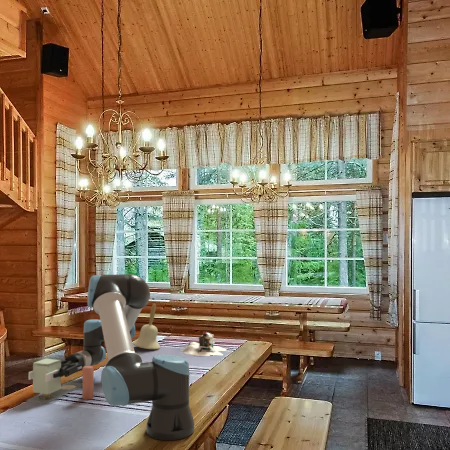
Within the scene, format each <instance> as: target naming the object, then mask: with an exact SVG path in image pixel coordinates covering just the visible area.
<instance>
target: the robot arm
mask: <svg viewBox="0 0 450 450" xmlns="http://www.w3.org/2000/svg"><path fill="white" fill-rule="evenodd" d="M87 288H88V290H87V307H89V308H93V310H94V312H95V313H96V314H98V315H99V319H95V318H94V319H92V318H91V319H88V320H85V321H84V323H83V347H82V348H83V350H80V351H77V352H75V353H72V354H68V355H67V356H66V358H65V360H61V368H60V371H59V370H55V371H53V372H50V373H47V374H45V382H48V381H50V380H53V379H55V378H58V377H61V378H62V377H65V378H68V377H70V376H72V375H73V374H76V373H78V372H80V371H81V372H83V367H85V366H93V367H94V366H95V365H98V364H100V363H102V362H103V361H104V360H105V359H106V357H107V359H108V360H107V361H106V363H105V366H104V367H103V368H102V370H101V375H100V376H101V377H100V380H101V386H102V387H101V389H102V393H103V396H104V399H105V401H106V403H107V404H108V405H110V406H112V407H120V406H121V407H125V406H127V405H133V404H140V403H147V402H152V404H151V405H152V406H151V409H150V412H149V416H148V419H147V421H146V435H147V436H149V437H150V438H152V439H155V440H160V441H178V440H182V439H185V438H188V437H189V436H191V435H192V434H193V433H194V432H195V420H194V417H193V414H192V410H191V408H190V375H191V373H190V364H189V363H190V362H189V361H188V360H187V359H186V358H184V357H182V356H179V355H173V354H157V355H154V356H152V358H151V361H147V362H145V361H144V362H143V359H142V357H141V355H140V354H139V353H138V352H137V353H136V352H135V348H134V345H133V340H132V339H134V338H135V336H136V326H135V324H136V322H137V320H138V317H139V315H140V313H141V312H142V309H143V308H145V307H146V306H147V305H148V303H149V301H150V298H151V290H150V287H149V285H148V282H146V281H145V280H144V279H143V278H142V277H140V276H138V275H136V274H133V273H129V274H128V273H125V274H97V275H92V276H91V277H90V278H89V282H88V287H87ZM102 342H104V345H105V347H103V346H102ZM106 355H107V356H106ZM28 380H29V381H31V380H33V370H31V371H28Z"/></svg>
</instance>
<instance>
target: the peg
mask: <svg viewBox="0 0 450 450" xmlns="http://www.w3.org/2000/svg"><path fill="white" fill-rule="evenodd" d="M94 370H95V367H94V365H93V366H85V367H83V371H82V384H83V386H82V400H86V401H87V400H88V401H89V400H92V399H94V397H95V396H94V391H95V390H94V389H95V388H94V386H95V385H94V384H95V383H94V381H95V380H94V375H95V373H94V372H95V371H94Z"/></svg>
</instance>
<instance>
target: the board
mask: <svg viewBox="0 0 450 450" xmlns="http://www.w3.org/2000/svg"><path fill="white" fill-rule="evenodd" d="M81 387H82V388H83V383H81V382H80V383H79V382H72V381H67V382H65V383H63V384H61V389H59V390H57V391H55V392H52V393H50V394H41V393H39V394H37V395H36V396H33V397H30V398H28V399H26V400H25V401H26V402H31V403H37V404H43V405H47V404H48V403H50V402H52V401H55V400H56V399H58V398H61V397H62V396H65V395H66V394H69V393H71V392H73V391H75V390H78V389H79V388H81Z"/></svg>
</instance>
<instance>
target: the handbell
mask: <svg viewBox="0 0 450 450" xmlns="http://www.w3.org/2000/svg"><path fill="white" fill-rule="evenodd" d="M156 309H157V304H156V303H153V304H152V305H151V309H150V312H149V322H148V324H143V326H142V327H141V328H140V332H139V333H140V334H139V335H138V338H137V339H135V340H134V341H132V344H133V346H135V347H138V348H141V349H147V350H159V349H160V348H161V346H160V344H159V343H158V341H157V337H158V327H156V326H155V325H153V322H154V319H155V316H156V315H155V314H156Z"/></svg>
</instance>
